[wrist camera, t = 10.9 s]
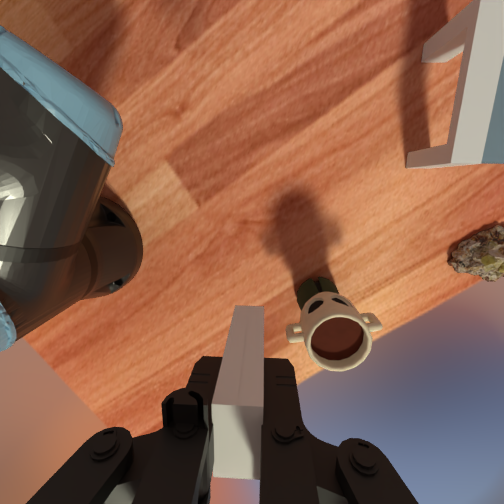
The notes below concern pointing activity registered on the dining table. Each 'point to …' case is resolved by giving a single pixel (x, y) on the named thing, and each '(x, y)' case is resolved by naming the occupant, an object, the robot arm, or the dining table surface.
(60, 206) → the robot arm
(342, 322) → the character mug
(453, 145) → the bridge
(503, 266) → the mineral rock
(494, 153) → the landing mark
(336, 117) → the dining table surface
